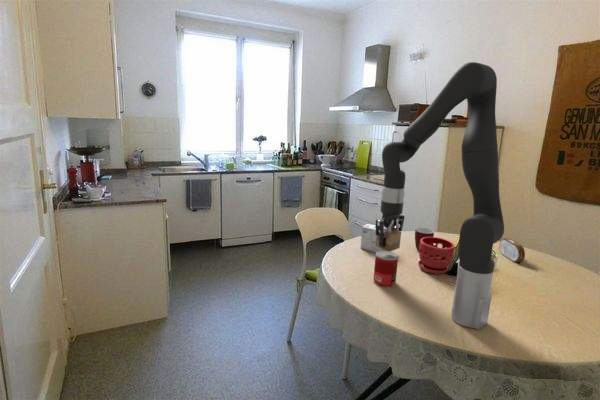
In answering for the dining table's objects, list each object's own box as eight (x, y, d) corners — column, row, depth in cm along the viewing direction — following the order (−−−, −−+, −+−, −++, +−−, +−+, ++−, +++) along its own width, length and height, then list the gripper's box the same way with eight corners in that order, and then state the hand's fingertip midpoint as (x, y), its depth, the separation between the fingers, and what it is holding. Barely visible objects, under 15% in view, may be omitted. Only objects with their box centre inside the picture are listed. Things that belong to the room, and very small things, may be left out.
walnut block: (399, 248, 128) (401, 232, 127) (389, 251, 124) (391, 235, 123) (385, 243, 133) (387, 227, 131) (375, 246, 129) (377, 230, 127)
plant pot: (418, 274, 140) (421, 245, 137) (415, 261, 152) (418, 234, 149) (453, 278, 137) (457, 249, 134) (448, 265, 149) (452, 238, 146)
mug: (407, 246, 169) (410, 226, 167) (423, 246, 171) (426, 226, 168) (417, 254, 159) (420, 233, 157) (434, 254, 160) (437, 233, 158)
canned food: (395, 288, 127) (399, 259, 125) (373, 285, 129) (375, 257, 126) (394, 279, 134) (397, 251, 132) (373, 276, 136) (375, 249, 133)
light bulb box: (387, 249, 165) (389, 227, 162) (382, 254, 159) (384, 231, 156) (365, 244, 170) (367, 223, 168) (359, 248, 164) (361, 226, 162)
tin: (523, 265, 152) (527, 246, 150) (516, 265, 152) (520, 246, 150) (503, 252, 167) (506, 235, 165) (496, 252, 167) (499, 234, 165)
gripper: (388, 204, 117) (384, 252, 121) (413, 199, 126) (408, 244, 130) (370, 200, 122) (366, 246, 126) (395, 195, 132) (391, 238, 136)
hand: (387, 244), depth 128 cm, fingers closed on walnut block, 6 cm apart
